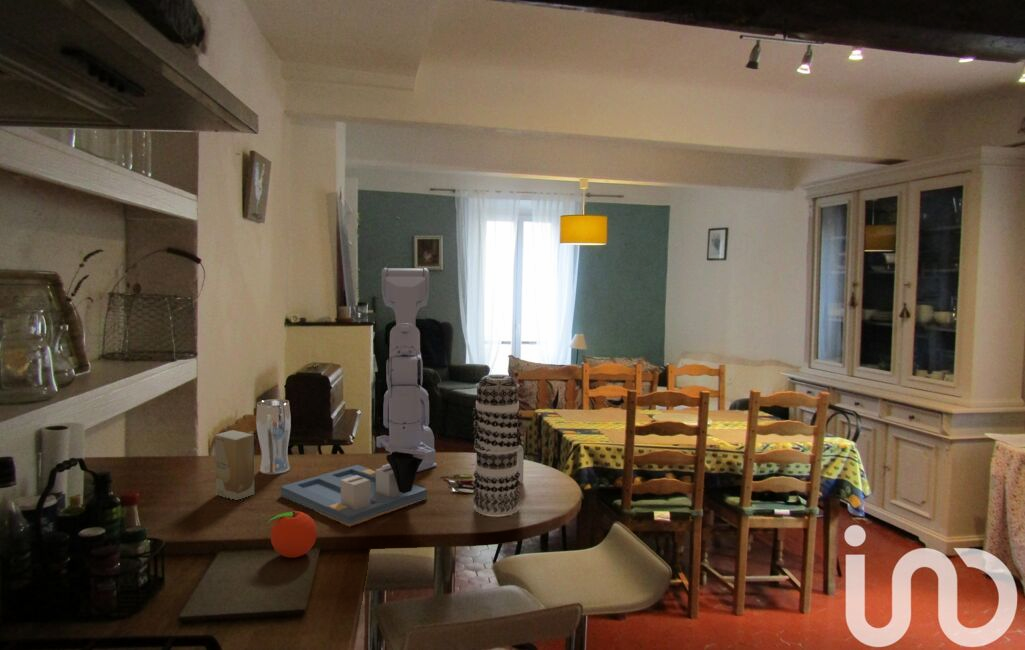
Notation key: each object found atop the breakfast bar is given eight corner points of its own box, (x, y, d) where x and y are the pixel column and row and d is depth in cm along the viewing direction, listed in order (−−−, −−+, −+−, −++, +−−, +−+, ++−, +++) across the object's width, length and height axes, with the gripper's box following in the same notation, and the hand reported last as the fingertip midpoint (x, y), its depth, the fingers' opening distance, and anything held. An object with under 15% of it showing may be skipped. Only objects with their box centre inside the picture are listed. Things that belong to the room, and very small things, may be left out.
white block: (390, 488, 133) (390, 464, 132) (404, 493, 130) (403, 469, 130) (375, 493, 130) (375, 468, 129) (389, 498, 127) (389, 473, 127)
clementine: (260, 567, 102) (258, 522, 102) (268, 547, 109) (267, 505, 108) (314, 564, 104) (313, 519, 103) (319, 544, 111) (318, 502, 110)
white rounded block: (523, 487, 138) (524, 430, 137) (495, 487, 138) (496, 429, 137) (523, 480, 142) (523, 424, 141) (496, 479, 142) (496, 424, 141)
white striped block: (357, 499, 127) (356, 474, 126) (370, 505, 124) (370, 479, 124) (340, 505, 124) (340, 479, 123) (354, 510, 121) (353, 484, 121)
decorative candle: (463, 513, 124) (463, 379, 121) (483, 496, 133) (484, 370, 130) (509, 521, 121) (511, 383, 118) (527, 503, 129) (529, 374, 126)
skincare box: (215, 495, 131) (212, 434, 130) (233, 489, 135) (231, 429, 134) (238, 502, 128) (235, 439, 127) (256, 494, 132) (254, 433, 131)
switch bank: (357, 473, 145) (357, 464, 145) (427, 499, 131) (427, 488, 131) (281, 496, 131) (280, 485, 131) (349, 527, 117) (349, 515, 117)
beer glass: (279, 463, 152) (277, 397, 150) (298, 469, 147) (297, 401, 146) (251, 471, 146) (249, 402, 144) (270, 477, 142) (268, 407, 140)
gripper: (363, 417, 127) (364, 487, 129) (414, 431, 118) (415, 506, 119) (392, 410, 132) (393, 478, 134) (444, 424, 123) (444, 496, 125)
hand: (405, 491), depth 127 cm, fingers closed
